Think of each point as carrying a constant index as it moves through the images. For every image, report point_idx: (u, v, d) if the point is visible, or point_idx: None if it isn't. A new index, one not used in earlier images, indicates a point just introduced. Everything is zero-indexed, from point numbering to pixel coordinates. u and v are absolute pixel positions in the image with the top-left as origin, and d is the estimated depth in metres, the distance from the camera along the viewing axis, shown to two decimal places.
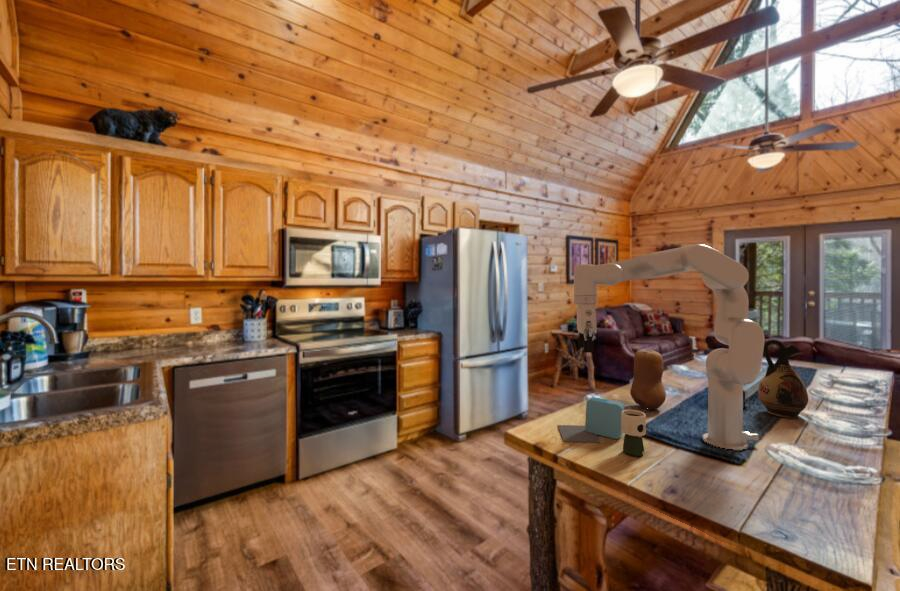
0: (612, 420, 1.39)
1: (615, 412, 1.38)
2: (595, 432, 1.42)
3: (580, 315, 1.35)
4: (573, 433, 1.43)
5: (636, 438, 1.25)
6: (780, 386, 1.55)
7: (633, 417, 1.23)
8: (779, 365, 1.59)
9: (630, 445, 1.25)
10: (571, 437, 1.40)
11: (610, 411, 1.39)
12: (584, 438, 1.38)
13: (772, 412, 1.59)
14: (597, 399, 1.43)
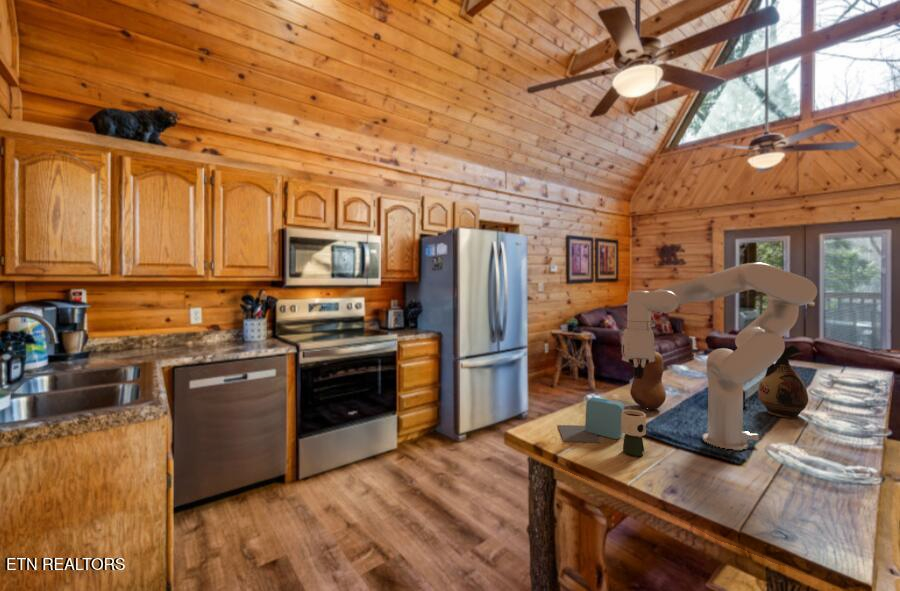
0: (612, 420, 1.39)
1: (615, 412, 1.38)
2: (595, 432, 1.42)
3: (650, 341, 1.37)
4: (573, 433, 1.43)
5: (636, 438, 1.25)
6: (780, 386, 1.55)
7: (633, 417, 1.23)
8: (779, 365, 1.59)
9: (630, 445, 1.25)
10: (571, 437, 1.40)
11: (610, 411, 1.39)
12: (584, 438, 1.38)
13: (772, 412, 1.59)
14: (597, 399, 1.43)
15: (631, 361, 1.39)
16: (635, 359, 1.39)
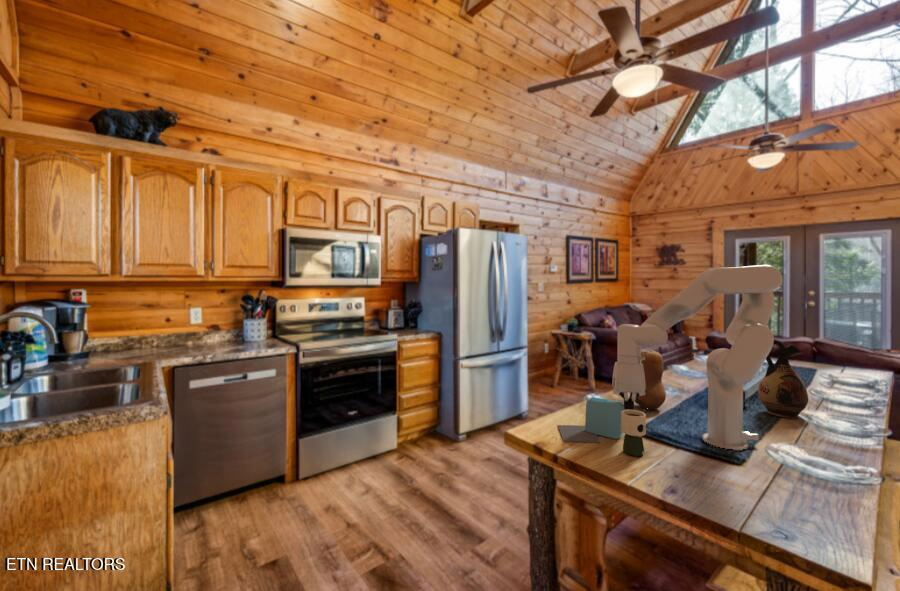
0: (612, 420, 1.39)
1: (615, 412, 1.38)
2: (595, 432, 1.42)
3: (640, 375, 1.38)
4: (573, 433, 1.43)
5: (636, 438, 1.25)
6: (780, 386, 1.55)
7: (633, 417, 1.23)
8: (779, 365, 1.59)
9: (630, 445, 1.25)
10: (571, 437, 1.40)
11: (610, 411, 1.39)
12: (584, 438, 1.38)
13: (772, 412, 1.59)
14: (597, 399, 1.43)
15: (622, 395, 1.40)
16: (625, 393, 1.40)
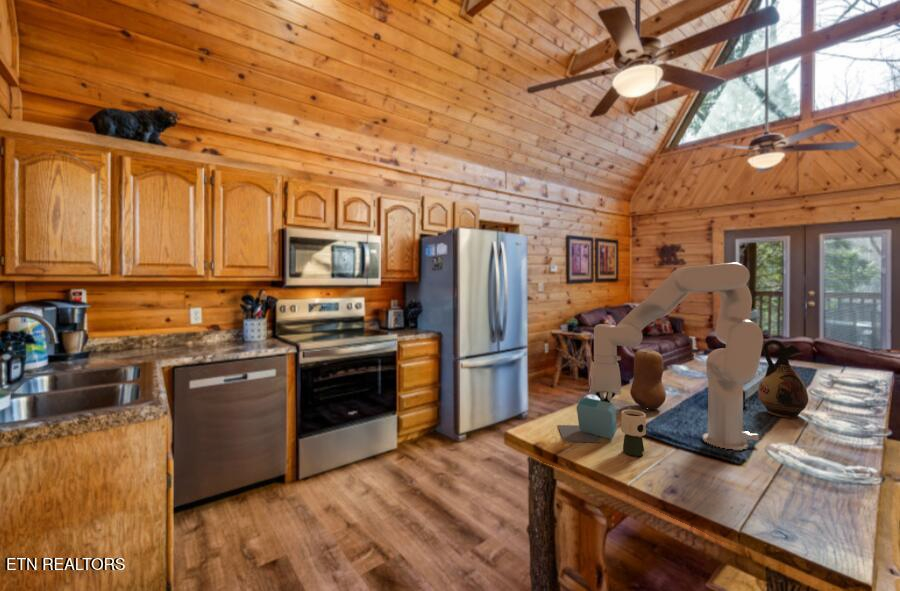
0: (603, 423, 1.37)
1: (605, 416, 1.35)
2: (589, 432, 1.42)
3: (616, 374, 1.39)
4: (573, 433, 1.43)
5: (636, 438, 1.25)
6: (780, 386, 1.55)
7: (633, 417, 1.23)
8: (779, 365, 1.59)
9: (630, 445, 1.25)
10: (571, 437, 1.40)
11: (600, 415, 1.36)
12: (584, 438, 1.38)
13: (772, 412, 1.59)
14: (587, 402, 1.40)
15: (598, 394, 1.41)
16: (601, 392, 1.41)
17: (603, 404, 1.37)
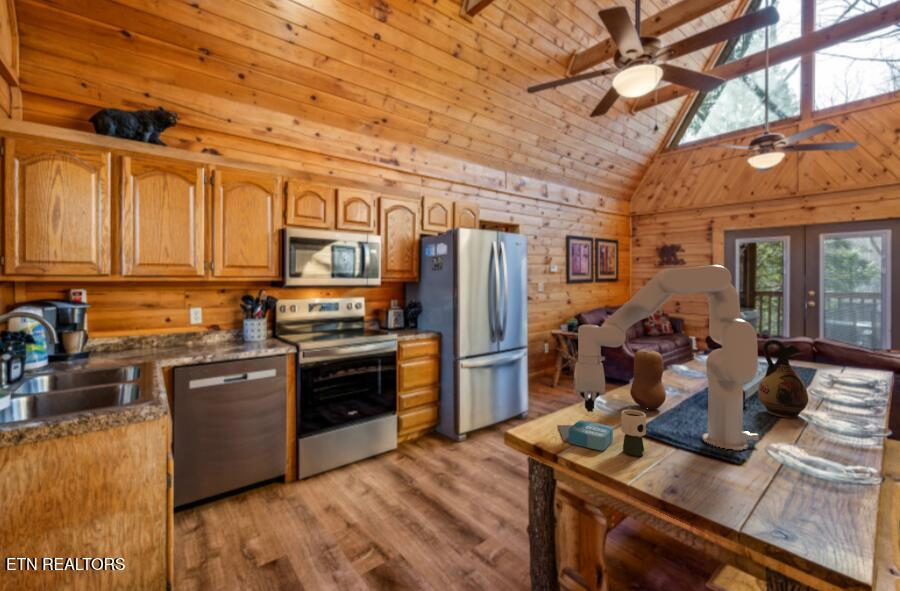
0: None
1: None
2: None
3: (600, 375, 1.40)
4: None
5: (636, 438, 1.25)
6: (780, 386, 1.55)
7: (633, 417, 1.23)
8: (779, 365, 1.59)
9: (630, 445, 1.25)
10: None
11: None
12: None
13: (772, 412, 1.59)
14: (577, 439, 1.33)
15: (582, 394, 1.42)
16: (586, 392, 1.41)
17: (593, 441, 1.30)
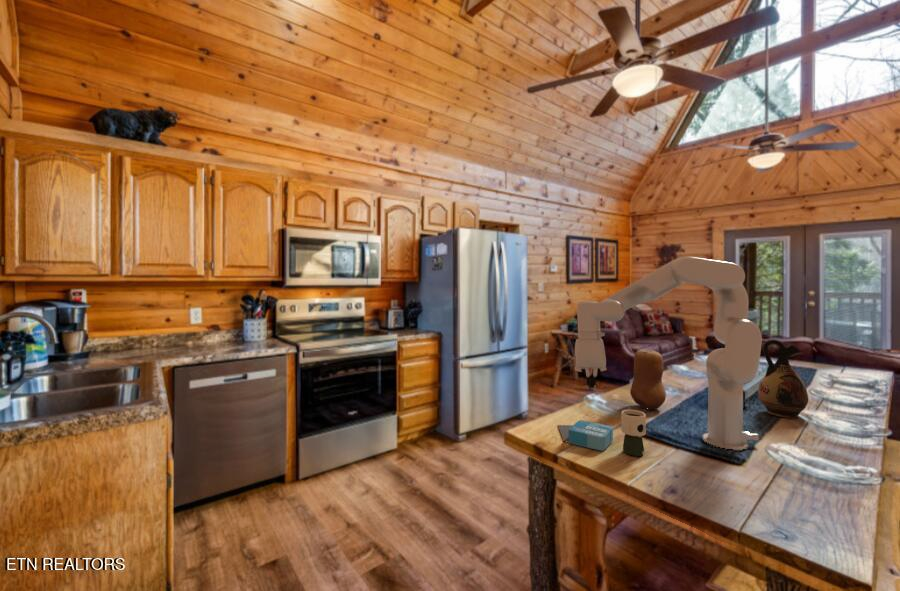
0: None
1: None
2: None
3: (600, 350, 1.39)
4: None
5: (636, 438, 1.25)
6: (780, 386, 1.55)
7: (633, 417, 1.23)
8: (779, 365, 1.59)
9: (630, 445, 1.25)
10: None
11: None
12: None
13: (772, 412, 1.59)
14: (577, 439, 1.33)
15: (583, 371, 1.42)
16: (587, 369, 1.41)
17: (593, 441, 1.30)
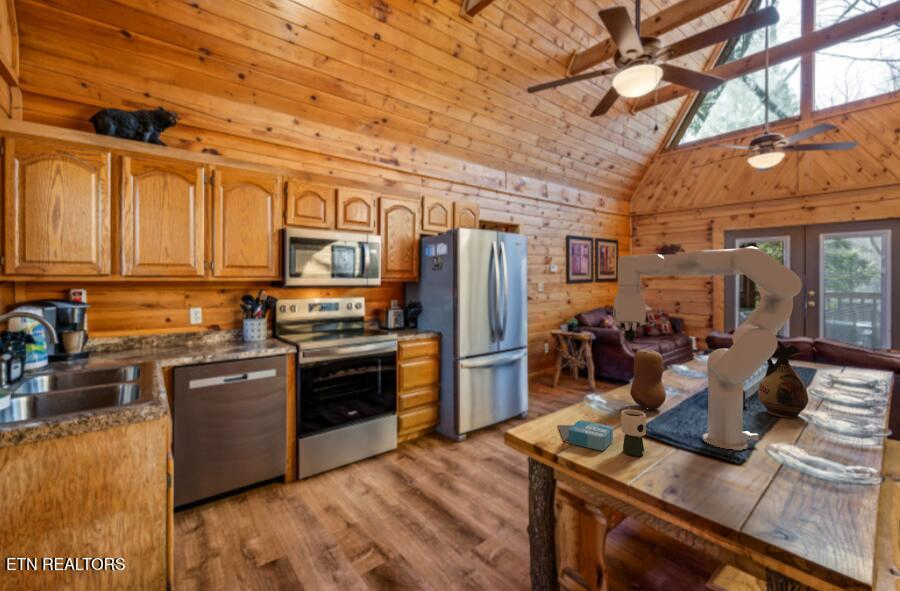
0: None
1: None
2: None
3: (640, 304, 1.41)
4: None
5: (636, 438, 1.25)
6: (780, 386, 1.55)
7: (633, 417, 1.23)
8: (779, 365, 1.59)
9: (630, 445, 1.25)
10: None
11: None
12: None
13: (772, 412, 1.59)
14: (577, 439, 1.33)
15: (622, 324, 1.43)
16: (626, 322, 1.42)
17: (593, 441, 1.30)
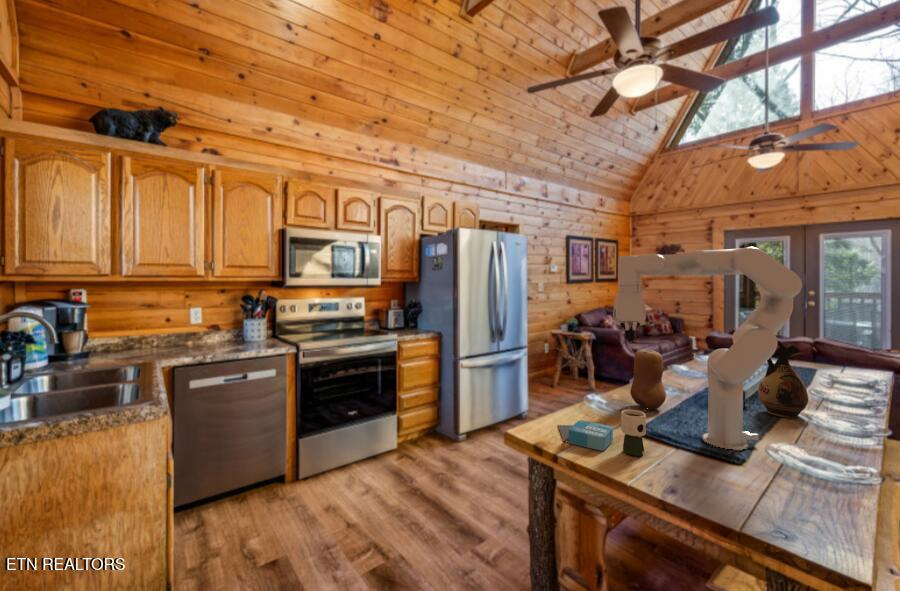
0: None
1: None
2: None
3: (640, 304, 1.41)
4: None
5: (636, 438, 1.25)
6: (780, 386, 1.55)
7: (633, 417, 1.23)
8: (779, 365, 1.59)
9: (630, 445, 1.25)
10: None
11: None
12: None
13: (772, 412, 1.59)
14: (577, 439, 1.33)
15: (622, 324, 1.43)
16: (626, 322, 1.42)
17: (593, 441, 1.30)
